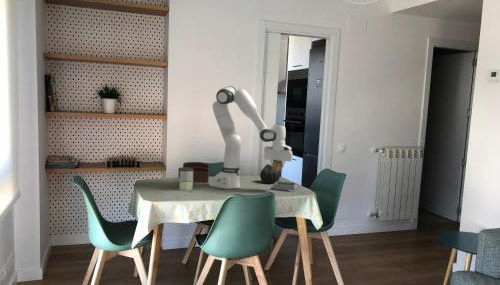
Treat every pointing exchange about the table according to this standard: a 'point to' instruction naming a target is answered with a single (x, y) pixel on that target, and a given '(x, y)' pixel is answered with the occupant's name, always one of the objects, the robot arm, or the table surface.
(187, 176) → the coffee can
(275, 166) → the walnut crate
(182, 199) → the table surface
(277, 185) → the charcoal crate
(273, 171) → the squash
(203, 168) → the letter holder
